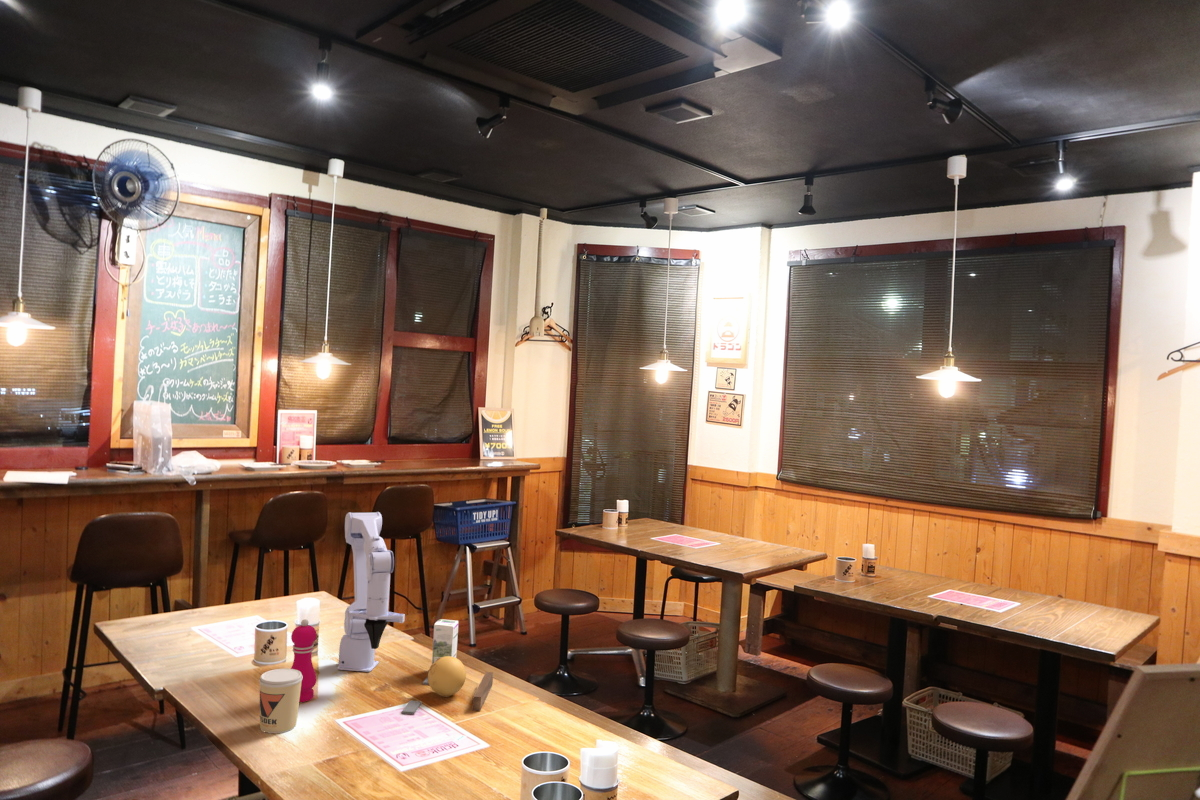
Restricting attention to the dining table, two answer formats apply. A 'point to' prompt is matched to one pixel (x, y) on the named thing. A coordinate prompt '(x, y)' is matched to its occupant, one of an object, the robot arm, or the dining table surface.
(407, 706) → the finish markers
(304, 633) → the pepper mill
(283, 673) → the coffee cup
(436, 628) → the syrup box
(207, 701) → the dining table surface
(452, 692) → the stress ball
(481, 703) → the bar
